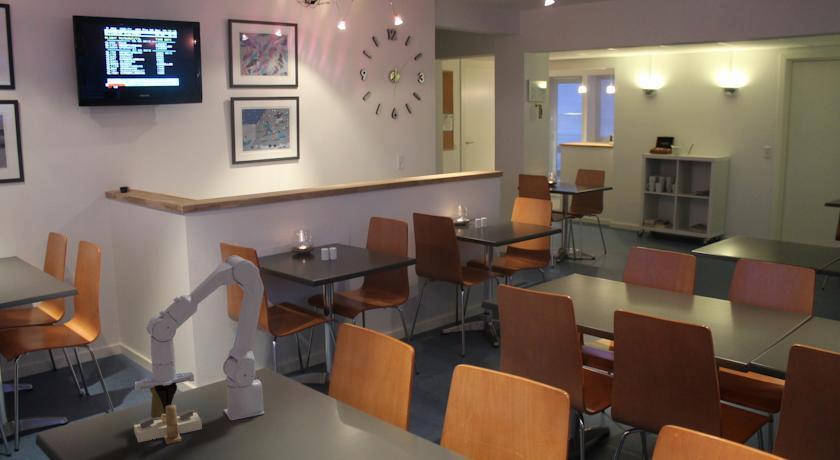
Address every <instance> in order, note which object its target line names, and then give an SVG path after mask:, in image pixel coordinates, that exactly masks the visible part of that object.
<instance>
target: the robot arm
mask: <svg viewBox="0 0 840 460" xmlns="http://www.w3.org/2000/svg"><path fill="white" fill-rule="evenodd" d="M236 284H237V285H238V286H239V287H240V289H241V290H242V291H243V293H242V301H241V305H240V310H239V315H238V322H237V327H236V331H235V335H234V342H233V346H232V348H231V349H230V350H229V352H228V356H227V358H226V360H225V361H224V362H223V365H222V371H223V373H224V374H225V376H226V377H227V379H226V383H225V384H226V397H227V398H226V399H227V400H226V401H227V408H225V409H223V412H224V413H225V415H226V416H227V417H228V419H229V420H230V421H237V420H240V419H246V418H250V417H255V416H259V415H260V416H261V415H264V414H265V409H264V392H263V386H262V382H261V381H260V379H255V378H256V375H257V371H256V369H255V362H256V360H255V359H256V358H255V356H254V352H253V351H254V344H255V340H256V333H257V330H258V329H257V328H258V322H259V319H260V313H261V308H262V303H263V297H264V291H265V286H264V283H263V280H262V277H261V275H260V269H259V268H258V267H257V265H256V264H255V263H254V262H252V261H251V260H248V259H245V258H243V257H241V256H239V255H236V254H234V255H231V256H228V257H227V258H226V259H225V261H222V262H221V263H219V264H218V266H217V267H216V268H215V269H214V270H213V271H212V272H211V273H210V274H209V275H208V276H207V277H206V278H205V279H204V280H203V281H201V282H200V284H199V285H198V286H196V288H194V290H193V291H191V293H190V294H187V295H183V294H182V295H180V296H179V297H178V296H175V298H173V302H172V303H171V304H170V305H169V306H168V307H167V308H165V310H164V311H163V310H161V311H160V312H159V315H155V316H154V317H151V319H149V321H148V324H147V326H146V331H147V333H148V334H149V335H150V354H151V356H150V357H151V369H152V377H149V378H145V379H142V380H138V381H134V389H135V391H136V392H140V391H141V390H142V391H143V390H146V389H150V388H153V387H154V389H155V390H156V392H157V394H158V396H159V398H160V400H161V403H162V406H163V411H164V413H166V409H165V407H166V406H168V405H172V403H173V401H174V400H173V399H174V397H175V395H176V392H177V389H178V386H177V384H181V383H186V382H190V383H191V382H195V375H194V373H193V371H191V372H182V373H181V372H179V373H177V372H176V369H177V368H176V358H175V357H176V355H175V344H174V337H175V335H176V333H177V329H178V328H180V327H181V326H182V325H183V324H185V322H186V321H188V320H189V319H190V318H191V317H192V316H193V315H194V314H195V313H196V312H198V306H199V304H200V303H201V302H203V301H204V300H205V299H206V298H208V297H209V296H210V295H212V294H213V293H214V292H215V291H216V290H218V289H219V288H220V287H221V286H226V285H227V286H228V285H236Z"/></svg>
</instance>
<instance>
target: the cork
mask: <svg viewBox="0 0 840 460" xmlns="http://www.w3.org/2000/svg"><path fill="white" fill-rule="evenodd" d="M149 391H150V392H151V394H152V395H151V405H150V406H151V407H150V408H151V409H150V416H152V418H157V417H161V414H166V413H164V411H163V406H162V403H161V400H160V398H159V396H158V394H157V392H156V390H155V389H154V387H153V388H149Z"/></svg>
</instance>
